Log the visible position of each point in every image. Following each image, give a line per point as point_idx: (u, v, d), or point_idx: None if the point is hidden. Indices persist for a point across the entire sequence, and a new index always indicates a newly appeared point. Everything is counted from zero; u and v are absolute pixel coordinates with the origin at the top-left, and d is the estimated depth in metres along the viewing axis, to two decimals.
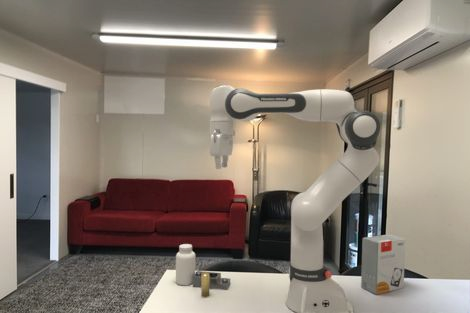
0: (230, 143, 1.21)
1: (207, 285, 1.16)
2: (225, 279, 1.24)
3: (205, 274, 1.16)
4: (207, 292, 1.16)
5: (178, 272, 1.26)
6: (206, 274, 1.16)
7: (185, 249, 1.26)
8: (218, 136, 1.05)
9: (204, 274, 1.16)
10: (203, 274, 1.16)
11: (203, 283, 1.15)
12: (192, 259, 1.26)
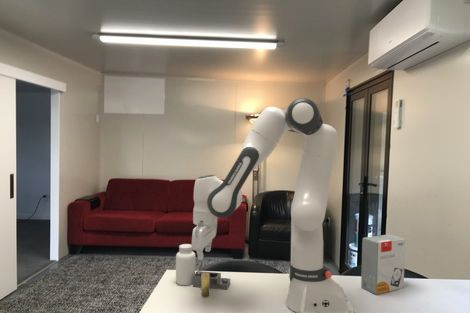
0: (214, 226, 1.23)
1: (207, 285, 1.16)
2: (225, 279, 1.24)
3: (205, 274, 1.16)
4: (207, 292, 1.16)
5: (178, 272, 1.26)
6: (206, 274, 1.16)
7: (185, 249, 1.26)
8: (200, 231, 1.07)
9: (204, 274, 1.16)
10: (203, 274, 1.16)
11: (203, 283, 1.15)
12: (192, 259, 1.26)
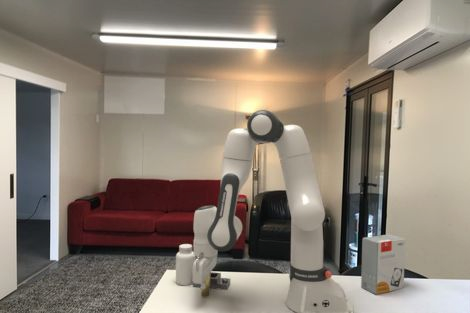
0: (214, 255, 1.23)
1: (207, 285, 1.16)
2: (225, 279, 1.24)
3: None
4: (207, 292, 1.16)
5: (178, 272, 1.26)
6: None
7: (185, 249, 1.26)
8: (200, 264, 1.07)
9: None
10: None
11: None
12: (192, 259, 1.26)
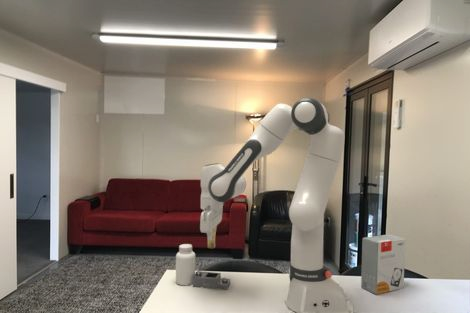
0: (220, 212, 1.32)
1: (213, 237, 1.24)
2: (225, 279, 1.24)
3: None
4: (213, 244, 1.24)
5: (178, 272, 1.26)
6: None
7: (185, 249, 1.26)
8: (207, 215, 1.16)
9: None
10: None
11: None
12: (192, 259, 1.26)
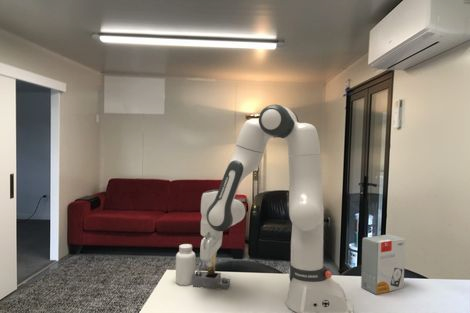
0: (220, 236, 1.32)
1: (213, 263, 1.24)
2: (225, 279, 1.24)
3: None
4: (213, 270, 1.25)
5: (178, 272, 1.26)
6: None
7: (185, 249, 1.26)
8: (207, 243, 1.16)
9: None
10: None
11: None
12: (192, 259, 1.26)
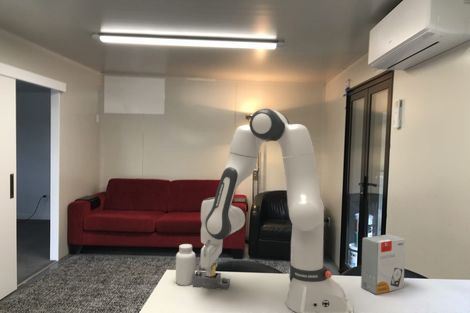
0: (220, 243, 1.32)
1: (213, 275, 1.24)
2: (225, 279, 1.24)
3: None
4: None
5: (178, 272, 1.26)
6: (212, 265, 1.25)
7: (185, 249, 1.26)
8: (208, 250, 1.16)
9: None
10: None
11: None
12: (192, 259, 1.26)
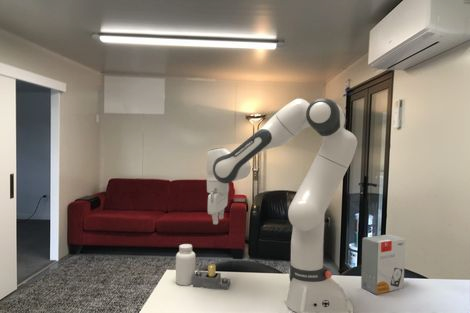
0: (225, 196, 1.34)
1: (213, 275, 1.24)
2: (225, 279, 1.24)
3: (211, 265, 1.25)
4: None
5: (178, 272, 1.26)
6: (212, 265, 1.25)
7: (185, 249, 1.26)
8: (215, 197, 1.19)
9: (210, 265, 1.25)
10: (209, 265, 1.25)
11: (209, 274, 1.24)
12: (192, 259, 1.26)
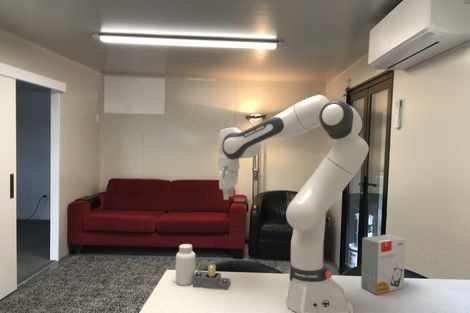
0: (236, 175, 1.39)
1: (213, 275, 1.24)
2: (225, 279, 1.24)
3: (211, 265, 1.25)
4: None
5: (178, 272, 1.26)
6: (212, 265, 1.25)
7: (185, 249, 1.26)
8: (226, 173, 1.24)
9: (210, 265, 1.25)
10: (209, 265, 1.25)
11: (209, 274, 1.24)
12: (192, 259, 1.26)
